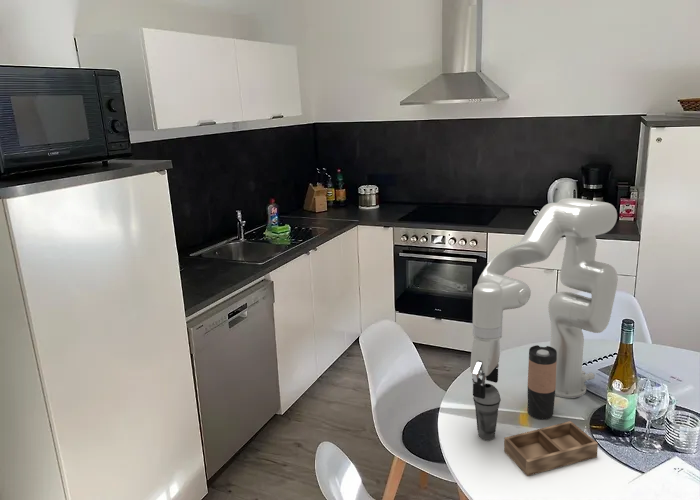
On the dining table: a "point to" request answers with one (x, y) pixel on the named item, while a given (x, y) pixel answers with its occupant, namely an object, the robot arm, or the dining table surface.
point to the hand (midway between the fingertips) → (485, 388)
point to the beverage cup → (487, 412)
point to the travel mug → (541, 381)
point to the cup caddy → (550, 448)
